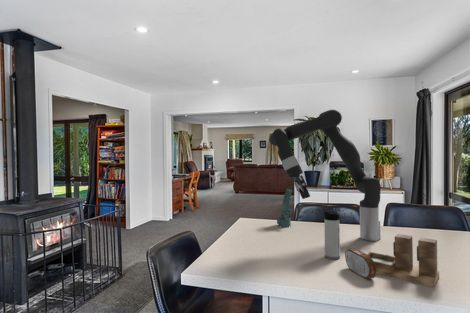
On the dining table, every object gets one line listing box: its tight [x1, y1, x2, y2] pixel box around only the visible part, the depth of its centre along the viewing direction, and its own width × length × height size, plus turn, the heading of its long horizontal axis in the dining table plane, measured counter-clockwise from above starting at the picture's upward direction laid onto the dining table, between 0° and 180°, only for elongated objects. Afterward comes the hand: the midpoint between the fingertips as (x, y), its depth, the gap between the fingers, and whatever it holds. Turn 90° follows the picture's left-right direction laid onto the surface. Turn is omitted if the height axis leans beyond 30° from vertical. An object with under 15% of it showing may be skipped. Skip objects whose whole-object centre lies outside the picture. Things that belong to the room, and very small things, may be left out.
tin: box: [344, 247, 377, 280], centre depth 105 cm, size 15×3×8 cm, turn 12°
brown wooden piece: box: [366, 233, 440, 288], centre depth 106 cm, size 24×11×14 cm, turn 47°
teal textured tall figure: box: [276, 188, 294, 228], centre depth 181 cm, size 14×10×25 cm
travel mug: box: [323, 211, 341, 260], centre depth 123 cm, size 6×7×20 cm
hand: (306, 197), depth 134 cm, fingers open, 8 cm apart
